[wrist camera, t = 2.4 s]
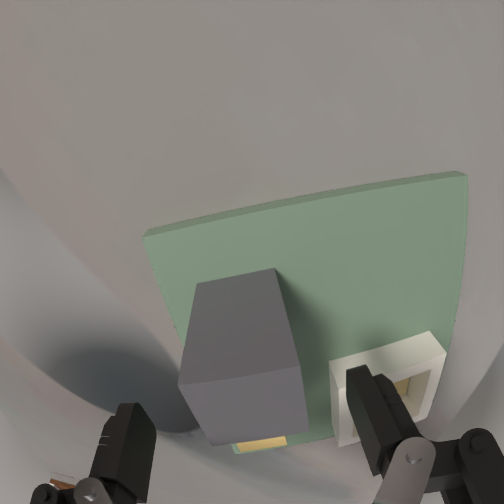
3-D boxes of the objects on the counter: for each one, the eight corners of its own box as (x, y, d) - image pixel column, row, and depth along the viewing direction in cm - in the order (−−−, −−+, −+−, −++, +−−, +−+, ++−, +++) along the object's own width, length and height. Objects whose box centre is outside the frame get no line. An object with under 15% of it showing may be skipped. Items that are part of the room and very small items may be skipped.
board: (147, 229, 16) (126, 258, 12) (456, 170, 15) (496, 185, 12) (235, 443, 24) (236, 477, 20) (427, 394, 23) (443, 422, 20)
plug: (196, 283, 16) (177, 385, 9) (274, 267, 16) (300, 365, 9) (220, 352, 18) (217, 454, 11) (287, 340, 18) (310, 440, 11)
